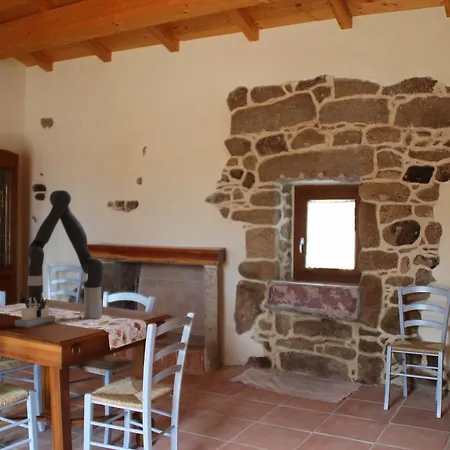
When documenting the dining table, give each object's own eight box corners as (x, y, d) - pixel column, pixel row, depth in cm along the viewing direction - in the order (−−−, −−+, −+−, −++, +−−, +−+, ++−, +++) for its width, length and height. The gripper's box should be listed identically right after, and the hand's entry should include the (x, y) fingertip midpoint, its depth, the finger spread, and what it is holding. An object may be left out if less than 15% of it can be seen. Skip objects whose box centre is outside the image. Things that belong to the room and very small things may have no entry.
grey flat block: (42, 320, 288) (42, 314, 288) (54, 321, 285) (54, 315, 285) (14, 326, 271) (14, 320, 271) (27, 327, 267) (27, 321, 267)
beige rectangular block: (43, 316, 285) (43, 304, 285) (48, 316, 283) (48, 305, 283) (21, 320, 273) (21, 308, 273) (26, 320, 271) (26, 309, 271)
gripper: (51, 284, 278) (50, 316, 278) (30, 282, 284) (30, 314, 284) (40, 285, 271) (40, 319, 271) (19, 284, 277) (19, 316, 277)
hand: (35, 316), depth 278 cm, fingers closed on beige rectangular block, 4 cm apart
